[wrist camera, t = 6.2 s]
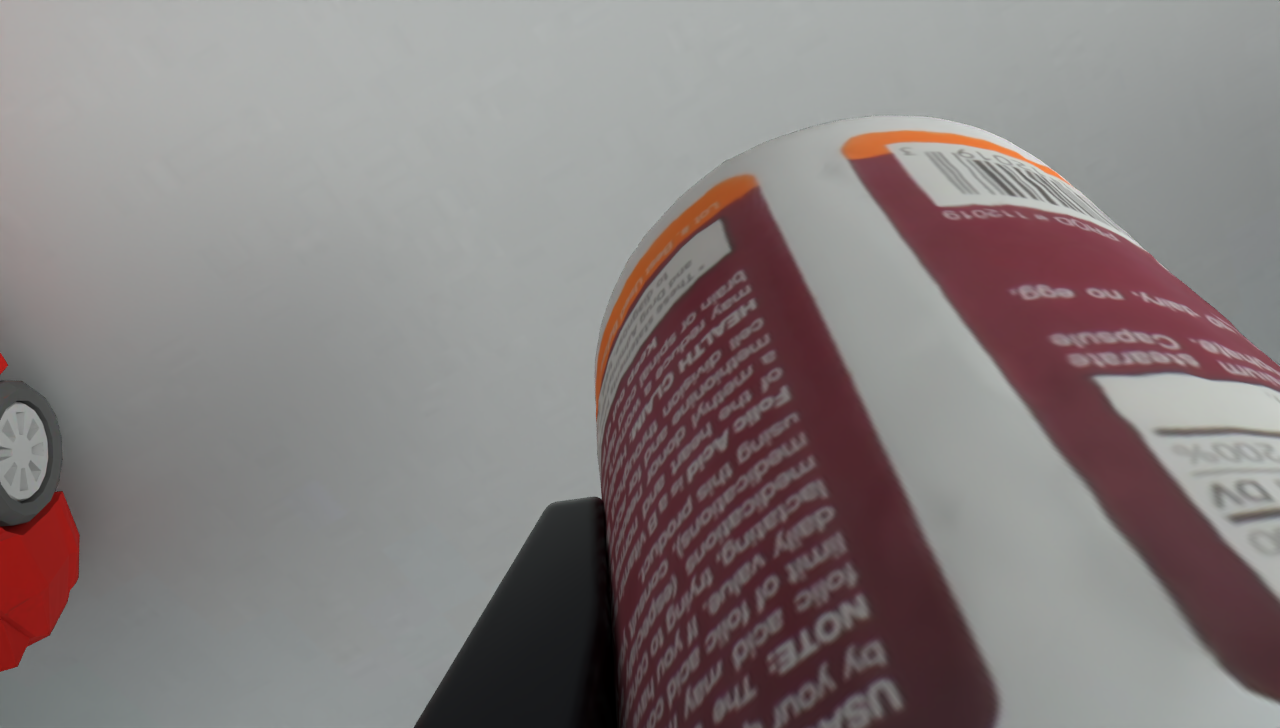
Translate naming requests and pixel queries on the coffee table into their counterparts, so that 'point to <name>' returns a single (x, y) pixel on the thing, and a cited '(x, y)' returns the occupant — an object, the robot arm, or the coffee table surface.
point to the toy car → (31, 522)
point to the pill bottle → (929, 454)
